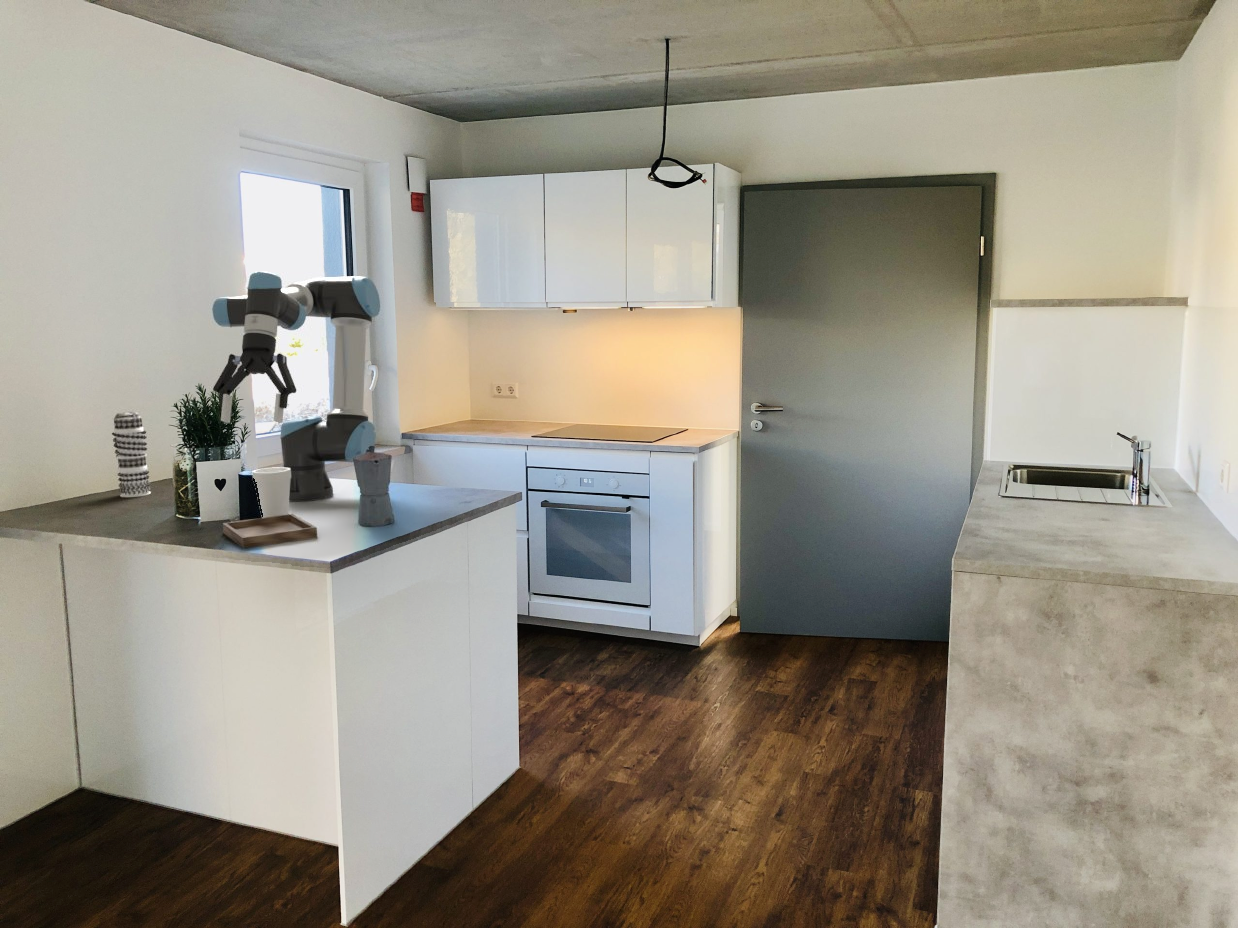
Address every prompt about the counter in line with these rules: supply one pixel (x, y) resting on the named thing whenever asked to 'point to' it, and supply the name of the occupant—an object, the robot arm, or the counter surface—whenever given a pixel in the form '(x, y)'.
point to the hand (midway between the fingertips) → (251, 421)
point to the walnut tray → (269, 530)
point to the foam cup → (273, 490)
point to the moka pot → (374, 488)
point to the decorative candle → (131, 454)
